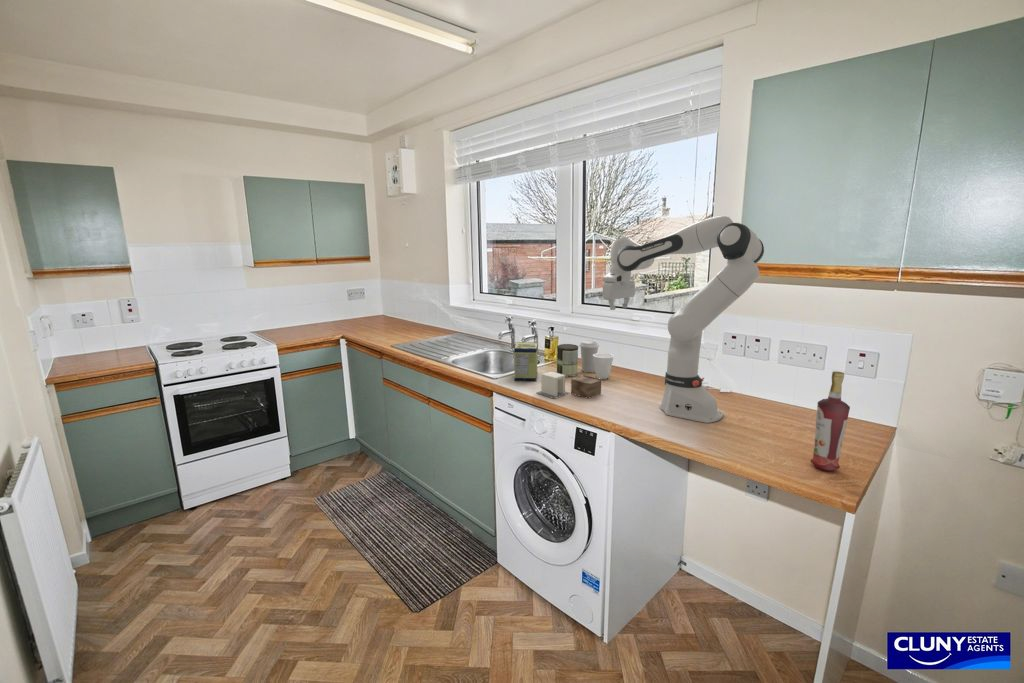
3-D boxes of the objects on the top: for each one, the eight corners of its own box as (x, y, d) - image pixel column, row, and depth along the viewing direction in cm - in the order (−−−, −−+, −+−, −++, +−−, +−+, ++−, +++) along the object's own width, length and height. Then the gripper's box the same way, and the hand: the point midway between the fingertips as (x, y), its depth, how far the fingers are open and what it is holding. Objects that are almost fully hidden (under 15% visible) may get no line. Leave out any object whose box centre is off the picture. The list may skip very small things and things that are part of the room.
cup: (615, 376, 221) (616, 354, 219) (610, 381, 213) (611, 358, 210) (594, 373, 225) (595, 352, 223) (589, 379, 217) (590, 356, 214)
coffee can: (552, 374, 224) (553, 346, 221) (563, 370, 233) (563, 343, 230) (571, 378, 218) (572, 349, 216) (581, 373, 227) (582, 345, 224)
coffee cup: (586, 374, 224) (587, 344, 221) (575, 370, 233) (575, 341, 230) (602, 371, 229) (603, 342, 226) (589, 367, 237) (590, 339, 234)
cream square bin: (550, 389, 201) (550, 371, 199) (564, 393, 195) (565, 375, 193) (541, 392, 197) (541, 374, 195) (555, 396, 191) (555, 377, 189)
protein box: (537, 372, 229) (537, 342, 225) (536, 381, 213) (536, 349, 210) (516, 372, 230) (516, 341, 226) (514, 381, 214) (513, 348, 211)
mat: (569, 393, 196) (569, 392, 196) (554, 398, 189) (554, 398, 189) (551, 388, 203) (551, 387, 203) (536, 393, 196) (536, 392, 196)
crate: (601, 393, 196) (601, 379, 194) (588, 398, 189) (588, 383, 188) (583, 388, 202) (584, 374, 201) (570, 393, 196) (571, 379, 194)
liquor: (845, 475, 126) (861, 377, 120) (816, 473, 127) (830, 375, 121) (832, 463, 133) (846, 369, 127) (804, 461, 134) (817, 368, 128)
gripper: (627, 275, 205) (625, 305, 208) (600, 277, 191) (599, 310, 194) (639, 275, 201) (638, 307, 203) (613, 278, 187) (611, 311, 190)
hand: (618, 308), depth 199 cm, fingers open, 8 cm apart
